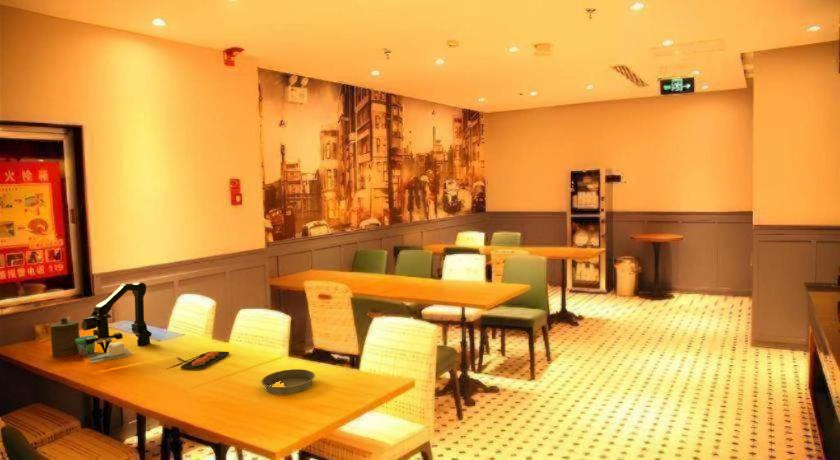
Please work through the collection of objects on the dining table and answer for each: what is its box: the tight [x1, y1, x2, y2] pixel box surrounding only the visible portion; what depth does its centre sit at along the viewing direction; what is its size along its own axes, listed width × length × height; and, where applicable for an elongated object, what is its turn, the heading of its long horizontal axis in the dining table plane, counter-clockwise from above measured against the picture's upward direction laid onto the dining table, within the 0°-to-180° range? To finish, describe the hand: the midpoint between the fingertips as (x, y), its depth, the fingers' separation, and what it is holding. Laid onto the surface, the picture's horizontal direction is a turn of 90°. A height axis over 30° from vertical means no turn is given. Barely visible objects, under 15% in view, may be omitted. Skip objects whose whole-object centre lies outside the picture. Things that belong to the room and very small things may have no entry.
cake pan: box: [260, 368, 316, 396], centre depth 274 cm, size 25×25×4 cm
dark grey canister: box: [49, 316, 81, 357], centre depth 350 cm, size 15×15×22 cm
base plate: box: [86, 348, 133, 364], centre depth 336 cm, size 21×18×3 cm
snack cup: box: [75, 335, 97, 357], centre depth 344 cm, size 16×10×10 cm
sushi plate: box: [166, 350, 230, 370], centre depth 321 cm, size 29×30×4 cm
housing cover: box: [107, 341, 126, 356], centre depth 341 cm, size 7×10×5 cm
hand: (105, 352), depth 337 cm, fingers closed
